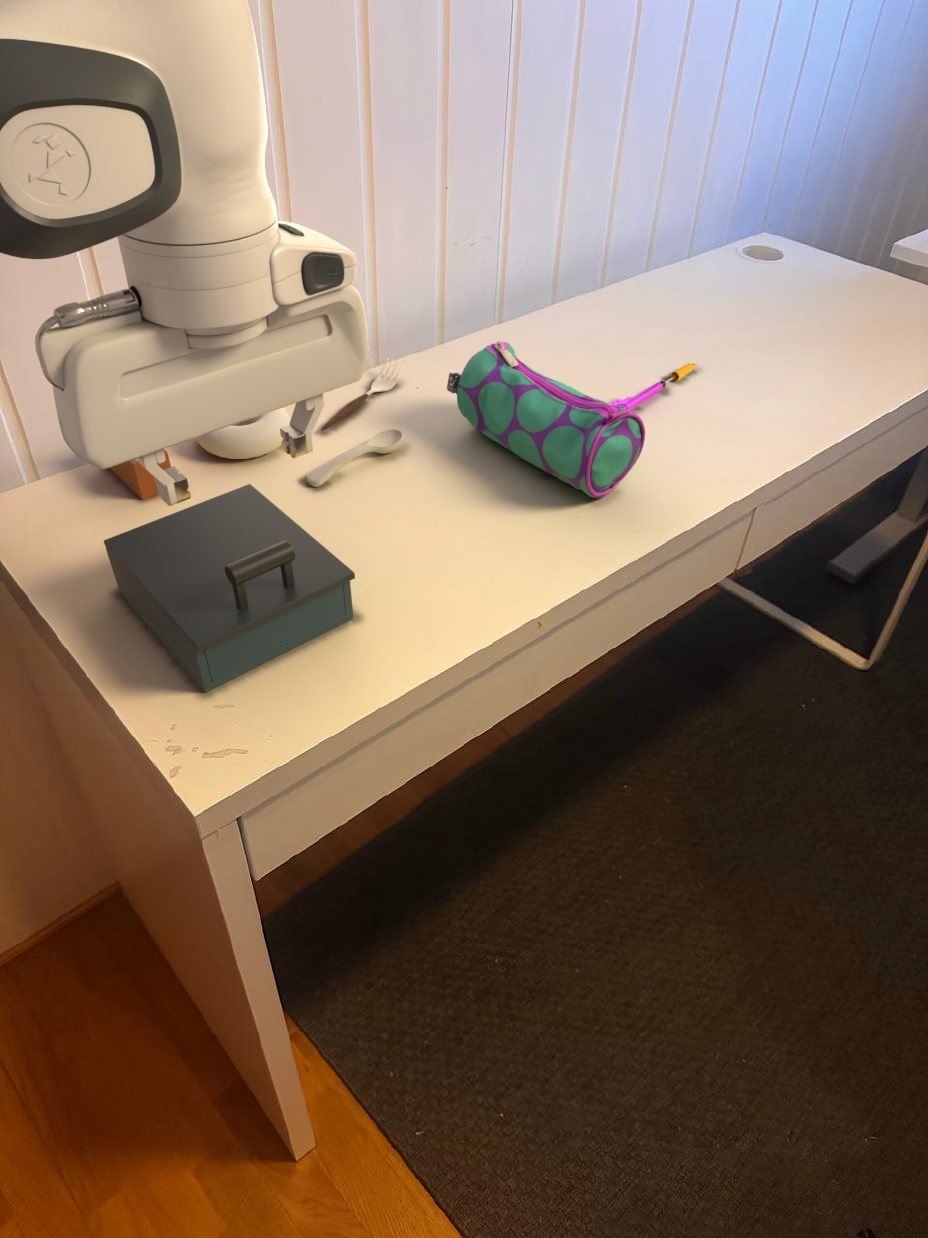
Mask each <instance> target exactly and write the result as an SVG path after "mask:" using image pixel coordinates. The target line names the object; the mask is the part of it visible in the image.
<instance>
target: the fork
mask: <svg viewBox="0 0 928 1238" xmlns="http://www.w3.org/2000/svg"><path fill="white" fill-rule="evenodd" d="M389 360H390V357H389V356H388V357H387V359H386V361H385V363H384V365H383V367H382V368H381V370H380V372H379V373H378V375H377V377H375V379H374V381H373V382H372V384H371V385H370V390H368V391H367V392H365V393H364V394H362V395H360V396H358V397H357V398H354V399H353V400H351V401H350V402H348V403H347V404H345V405H344V406H343V407H342V408H341V409H340V410H339V411H338V412H337V413H335V415H333V416H332V418H330V420H328V421H327V422H326V423H325V424H324V425H323V426H322V428H321V429H320V431H326V430H327V429H329V428H330V427H332V426H334V425H335V424H337V423H338V422H339V421H341V420H342V419H344V418H345V417H348V416H349V415H351V414H352V413H353V412H355V411H356V410H357V409H359V407H360V406H361V405H362V404H363V403H364V402H365V401H366V400H367V399H368V398H369V397H370V395H372V394H374V393H379V392H388V391H390V390H391V389H393V388H394V387H395V385H396V383H397V381H398V379H399V376H400V374H401V372H402V369H403V367H404V365H405V363H406V362H405V360H403V362H402V364H401V366H400V368H399V370H397V368H398V365H399V363H400V359H398V360H397V362H396V364H395V366H394V368H393V370H392V372H391V373H390V371H391V369H392V367H393V364H394V361H395V358H393V359H392V361H391V363H390V365H389V367H388V368H387V370H386V371H385V369H386V367H387V364H388V362H389ZM396 370H397V371H398V372H397V373H396V375H395V372H396ZM384 372H385V373H384ZM383 373H384V374H383ZM389 373H390V375H389V377H388V374H389ZM382 375H383V376H382ZM394 375H395V377H394ZM387 377H388V378H387ZM393 377H394V379H393Z"/></svg>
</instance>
